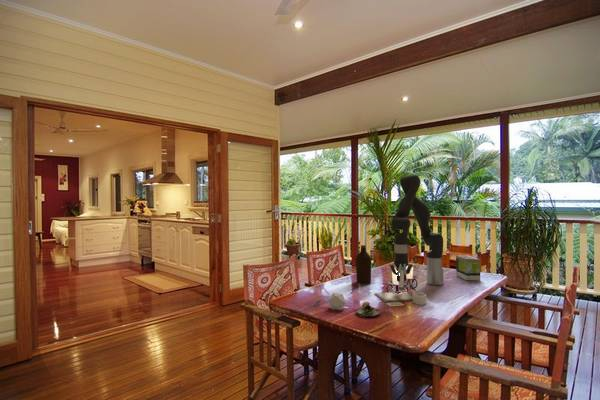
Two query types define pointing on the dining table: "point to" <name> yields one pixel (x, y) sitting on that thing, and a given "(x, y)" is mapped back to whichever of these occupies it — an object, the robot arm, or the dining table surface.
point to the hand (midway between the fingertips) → (401, 281)
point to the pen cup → (419, 298)
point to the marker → (401, 279)
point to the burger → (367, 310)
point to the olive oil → (363, 266)
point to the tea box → (468, 267)
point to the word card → (395, 304)
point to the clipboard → (395, 296)
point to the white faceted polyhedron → (337, 301)
